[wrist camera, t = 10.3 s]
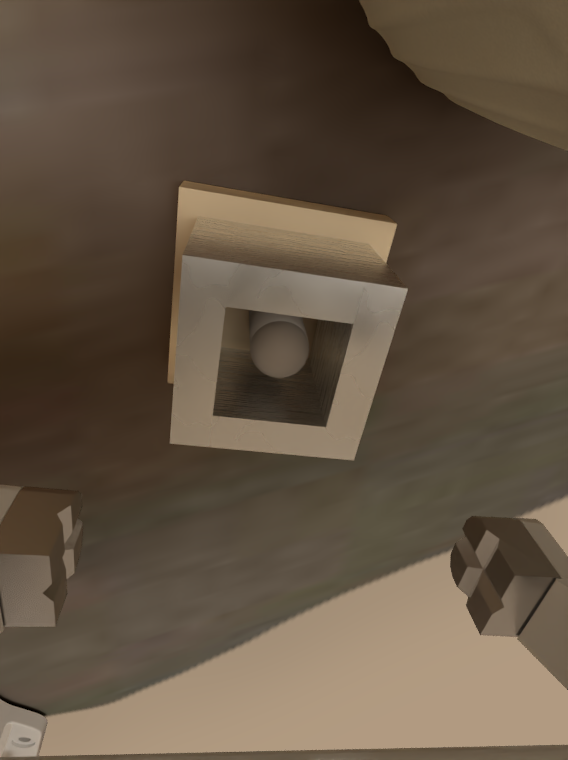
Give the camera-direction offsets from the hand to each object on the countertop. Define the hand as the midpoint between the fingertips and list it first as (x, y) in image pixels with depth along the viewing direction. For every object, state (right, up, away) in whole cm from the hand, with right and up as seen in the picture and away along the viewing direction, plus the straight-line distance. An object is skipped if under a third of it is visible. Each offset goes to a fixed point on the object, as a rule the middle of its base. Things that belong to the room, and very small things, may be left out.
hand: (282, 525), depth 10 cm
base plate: (-1, +7, +10) cm, 12 cm away
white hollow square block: (0, +6, +9) cm, 11 cm away
